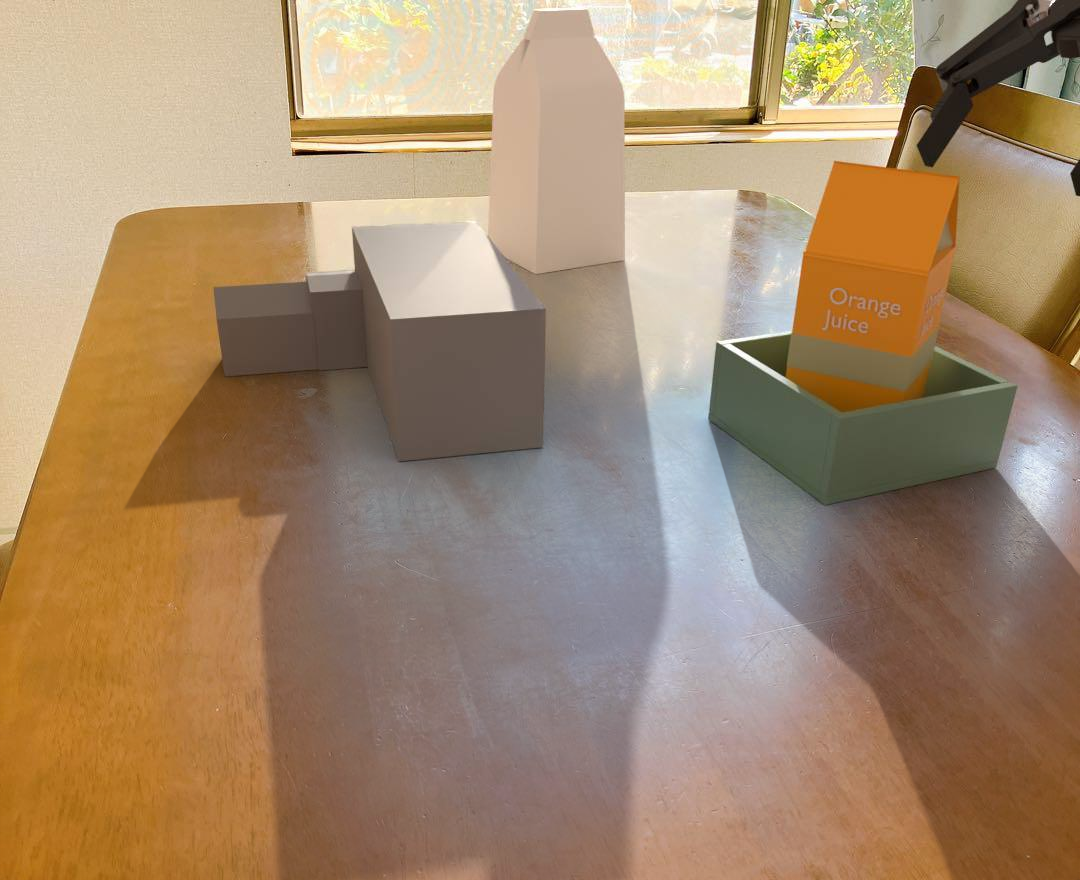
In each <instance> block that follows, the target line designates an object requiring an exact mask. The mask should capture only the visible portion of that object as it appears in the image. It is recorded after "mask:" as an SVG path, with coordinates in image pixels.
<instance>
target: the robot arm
mask: <svg viewBox="0 0 1080 880" xmlns="http://www.w3.org/2000/svg"><path fill="white" fill-rule="evenodd" d="M1049 32H1050V36H1051V42H1050V43H1049V44H1047V43H1046V39H1045V36H1046V34H1047V33H1049ZM1059 56H1060V58H1062V59H1077V58H1078V59H1079V58H1080V0H1016V2H1015V3H1014V4H1013V6H1012V7H1010V9H1009V10H1008V11H1007V12H1005V13H1004V14H1003V15H1001V16H1000V17H999V18H997V19H996V20H995V21H994V22H992V23H991V24H990V25H989V26H988V27H986V28H985V29H983V30H982V31H981V32H980V33H979V34H976V35H975V36H974V37H973V38H972V39H971V40H969V41H968V42H967V43H965V44H964V45H963V46H961V47H960V48H959V49H957V50H956V51H955V52H954V53H953V54H951V55H949V57H948V58H946V59H945V60H944V61H942V62H941V63H939V64H938V65H937V66H936V68H935V74H936V76H937V78H938V81H939V84H940V87H941V89H942V90H941V91H942V92H943V93H942V95H941V96H940V98H939V99H938V101H937V102H936V104H935V105H934V107H933V108H932V109H931V111H930V115H929V116H930V117H929V118H930V119H931V123H930V124H929V126H928V127H927V129H926V130H925V132H924V133H923V134H922V136H921V138H920V139H919V141H918V142H917V144H916V148H917V151H918V152H919V155H920V157H921V161H922V162H923V165H924V166H925V167H928V168H934V166H935V165H936V163H937V162H938V160H939V159H940V158H941V156H942V155H943V153H944V151H945V149H946V148H947V146H948V145H949V144H950V143H951V141H952V139H953V137H954V136H955V135H956V133H957V131H958V130H959V129H960V127H961V126H962V125H963V123H964V122H965V120H966V118H967V117H968V115H969V114H970V112H971V111H972V109H973V108H974V102H973V100H972V98H974V97H976V96H977V95H979V94H982V93H984V92H985V91H987V90H989V89H991V88H992V87H994V86H996V85H998V84H1000V83H1001V82H1003V81H1005V80H1007V79H1009V78H1011V77H1013V76H1015V75H1016V74H1018V73H1020V72H1022V71H1024V70H1025V69H1027V68H1030V67H1031V66H1033V65H1035V64H1037V63H1041V64H1045V63H1048V62H1049V61H1052V60H1053V59H1055V58H1056V57H1059ZM1069 175H1070V179H1071V182H1072V186H1073V191H1074V194H1075V196H1076V197H1080V158H1079V159H1078V161H1077V162H1076V164H1075V165H1074V167H1073V169H1072V170H1071V171H1070V173H1069Z"/></svg>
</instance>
